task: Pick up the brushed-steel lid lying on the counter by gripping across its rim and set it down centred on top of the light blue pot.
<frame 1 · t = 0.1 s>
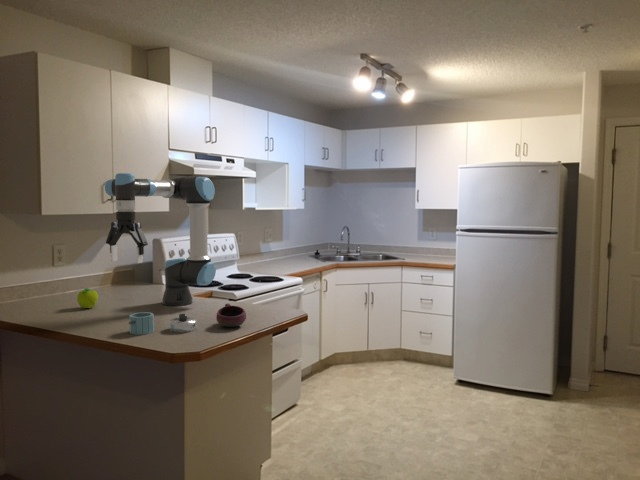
hand: (127, 261, 222), 28 cm above the countertop, fingers open, 13 cm apart
pot: (142, 331, 218), on the countertop
fruit: (88, 308, 262), on the countertop
bowl: (229, 326, 228), on the countertop
lid: (183, 329, 222), on the countertop
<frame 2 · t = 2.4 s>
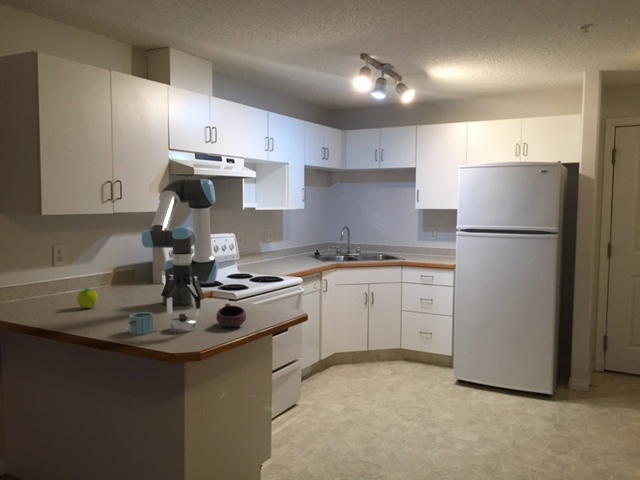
hand: (182, 314, 221), 6 cm above the countertop, fingers open, 13 cm apart
nothing on the countertop moved.
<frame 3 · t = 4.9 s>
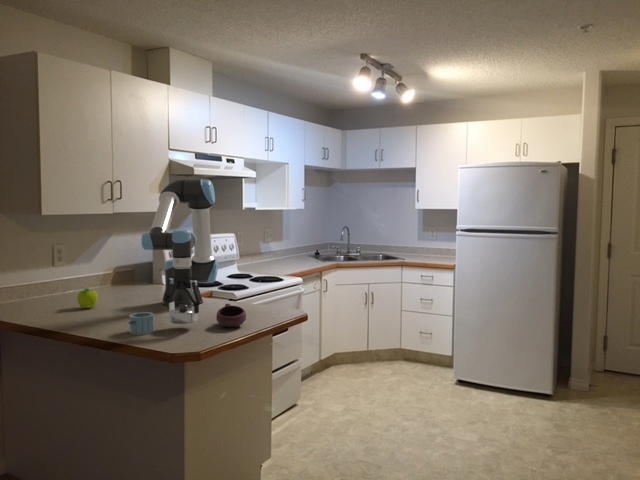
hand: (183, 319, 222), 4 cm above the countertop, fingers closed on lid, 11 cm apart
lid: (183, 320, 222), point 4 cm above the countertop, touching gripper
everything else where it was.
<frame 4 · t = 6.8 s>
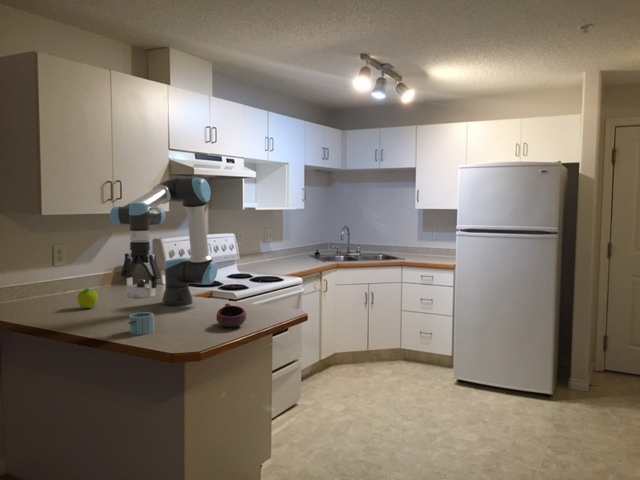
hand: (141, 294, 217), 15 cm above the countertop, fingers closed on lid, 11 cm apart
lid: (141, 295, 217), point 15 cm above the countertop, touching gripper
everything else where it was.
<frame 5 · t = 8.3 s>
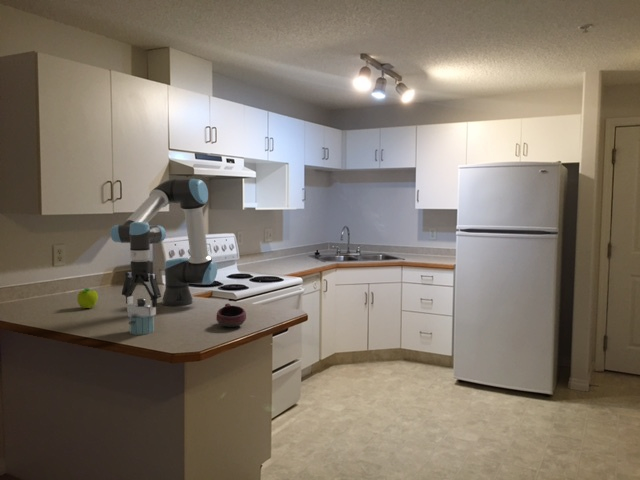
hand: (141, 313, 217), 7 cm above the countertop, fingers closed on lid, 11 cm apart
lid: (141, 314, 217), point 7 cm above the countertop, touching gripper, pot
everything else where it was.
when the fingers open (7 cm above the countertop, at t = 9.1 s): lid stays where it is, resting on pot.
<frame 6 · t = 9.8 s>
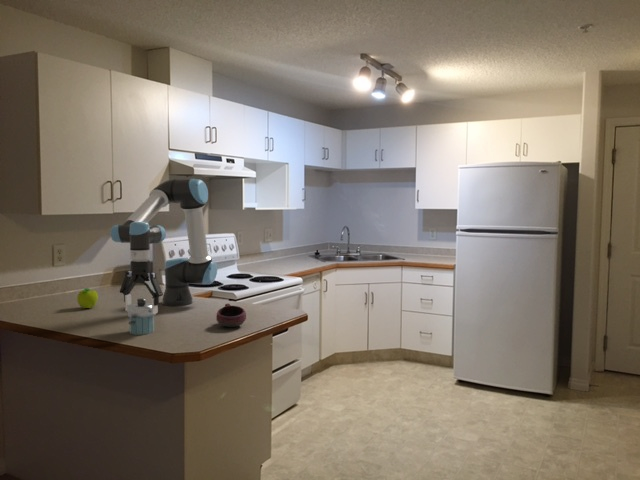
hand: (141, 311, 217), 8 cm above the countertop, fingers open, 13 cm apart
lid: (141, 314, 217), point 7 cm above the countertop, touching pot
everything else where it was.
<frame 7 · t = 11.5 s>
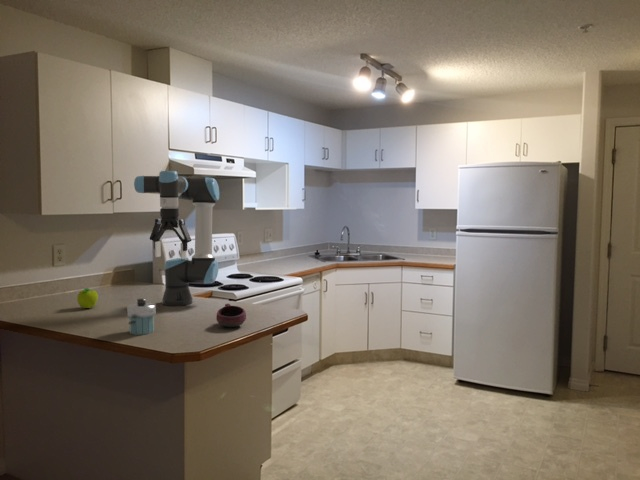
hand: (170, 257, 227), 29 cm above the countertop, fingers open, 13 cm apart
nothing on the countertop moved.
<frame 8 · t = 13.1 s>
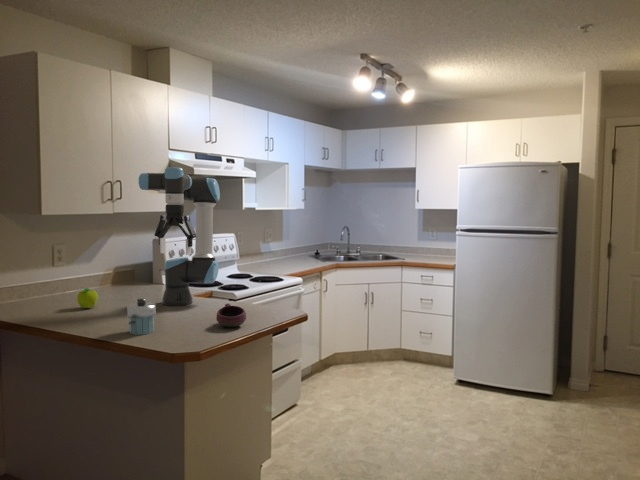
hand: (175, 253, 228), 31 cm above the countertop, fingers open, 13 cm apart
nothing on the countertop moved.
at the end: lid 0.1 cm off-centre on the pot, point 7.0 cm above the pot's base; lid tilted 0°; the gripper is holding nothing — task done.
